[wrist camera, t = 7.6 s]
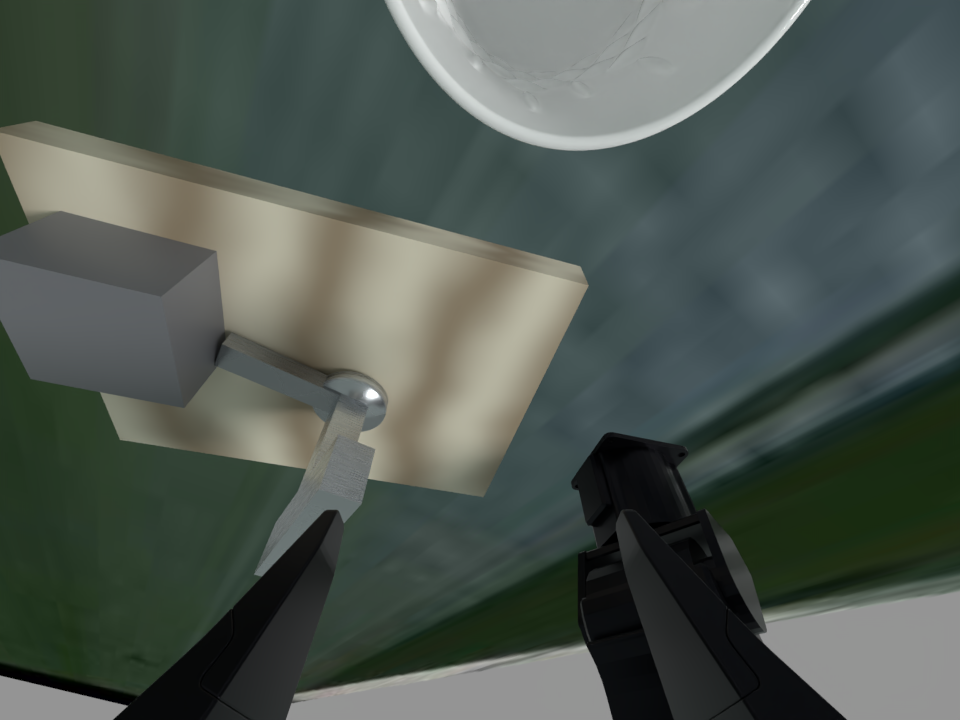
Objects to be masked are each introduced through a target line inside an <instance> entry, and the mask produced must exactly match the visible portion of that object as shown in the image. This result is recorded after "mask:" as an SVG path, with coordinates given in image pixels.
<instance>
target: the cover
mask: <svg viewBox="0 0 960 720" xmlns="http://www.w3.org/2000/svg"><path fill="white" fill-rule="evenodd" d="M0 320H1V322H2V324H3V326H4V328H5V330H6V332H7V334H8V336H9V338H10V340H11V342H12V344H13V346H14V348H15V350H16V352H17V354H18V356H19V357H20V359H21V361H22V363H23V365H24V367H25V369H26V371H27V373H28V375H29V377H30V379H33V380H39V381H44V382H49V383H54V384H60V385H65V386H70V387H75V388H81V389H86V390H91V391H96V392H102V393H107V394H112V395H118V396H123V397H128V398H133V399H139V400H144V401H149V402H154V403H160V404H165V405H170V406H176V407H181V408H185V407H186V406H187V404H188V403H189V402H190V401H191V399H192V398H193V397H194V395H195V394H196V393H197V392H198V390H199V389H200V388H201V387H202V385H203V384H204V383H205V382H206V380H207V379H208V378H209V376H210V375H211V374H212V373H213V371H214V370H215V369H216V368H217V366H215V362H216V359H217V356H218V354H219V351H220V348H221V346H222V344H223V342H224V341H225V340H226V336H225V326H224V317H223V307H222V298H221V288H220V278H219V269H218V259H217V251H214V250H211V249H207V248H203V247H199V246H195V245H191V244H187V243H183V242H180V241H176V240H172V239H168V238H164V237H160V236H156V235H153V234H149V233H145V232H141V231H137V230H133V229H129V228H125V227H122V226H118V225H114V224H110V223H106V222H102V221H98V220H94V219H91V218H87V217H83V216H79V215H75V214H71V213H67V212H64V211H59V212H56V213H54V214H52V215H49V216H47V217H45V218H42V219H40V220H37V221H35V222H33V223H30V224H28V225H26V226H23V227H21V228H18V229H16V230H14V231H11V232H9V233H6V234H4V235H2V236H0Z"/></svg>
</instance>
